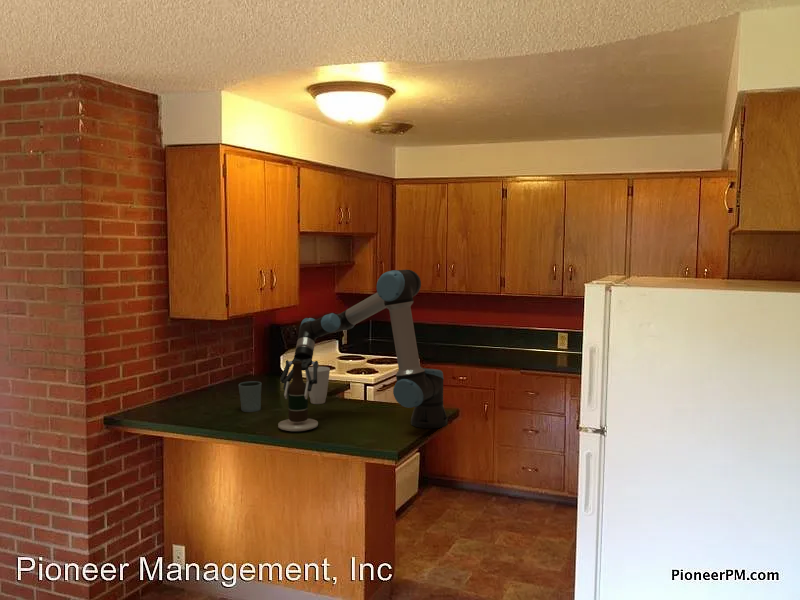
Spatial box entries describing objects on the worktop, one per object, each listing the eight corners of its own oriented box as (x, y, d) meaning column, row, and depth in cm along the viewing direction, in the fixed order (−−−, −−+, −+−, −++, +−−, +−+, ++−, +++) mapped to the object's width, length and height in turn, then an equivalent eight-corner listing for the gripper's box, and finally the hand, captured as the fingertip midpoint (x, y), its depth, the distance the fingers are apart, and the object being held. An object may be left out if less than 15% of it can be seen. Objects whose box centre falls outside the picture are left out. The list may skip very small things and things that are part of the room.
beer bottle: (312, 419, 280) (311, 361, 278) (297, 423, 274) (296, 363, 272) (299, 416, 285) (298, 358, 283) (284, 419, 280) (283, 361, 278)
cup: (313, 406, 317) (312, 372, 315) (300, 401, 326) (300, 368, 325) (335, 402, 324) (334, 369, 322) (322, 398, 333) (322, 365, 332)
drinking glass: (266, 408, 312) (266, 382, 311) (250, 413, 304) (249, 386, 303) (250, 406, 318) (250, 380, 317) (234, 410, 310) (233, 384, 309)
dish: (323, 430, 276) (323, 425, 276) (284, 435, 270) (283, 430, 269) (311, 421, 291) (311, 416, 291) (274, 425, 284) (273, 420, 284)
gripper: (329, 356, 292) (322, 402, 277) (282, 355, 294) (272, 401, 279) (326, 345, 286) (319, 392, 272) (279, 345, 288) (268, 391, 274)
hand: (295, 397), depth 276 cm, fingers closed on beer bottle, 7 cm apart
